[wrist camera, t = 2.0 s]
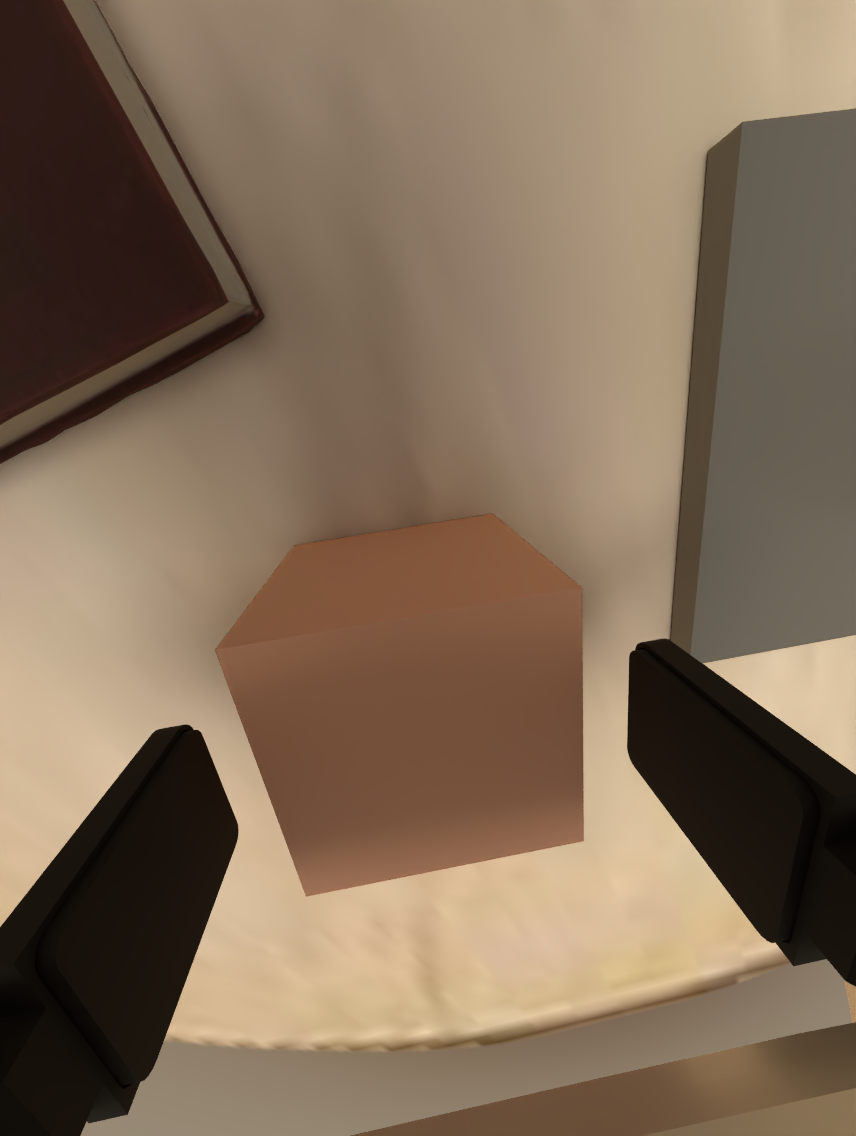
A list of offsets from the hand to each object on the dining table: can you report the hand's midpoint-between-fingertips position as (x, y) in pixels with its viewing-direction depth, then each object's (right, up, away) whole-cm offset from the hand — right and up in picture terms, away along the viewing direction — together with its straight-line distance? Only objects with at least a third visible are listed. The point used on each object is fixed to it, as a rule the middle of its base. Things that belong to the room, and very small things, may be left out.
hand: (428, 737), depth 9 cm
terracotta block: (-1, +2, +4) cm, 5 cm away
